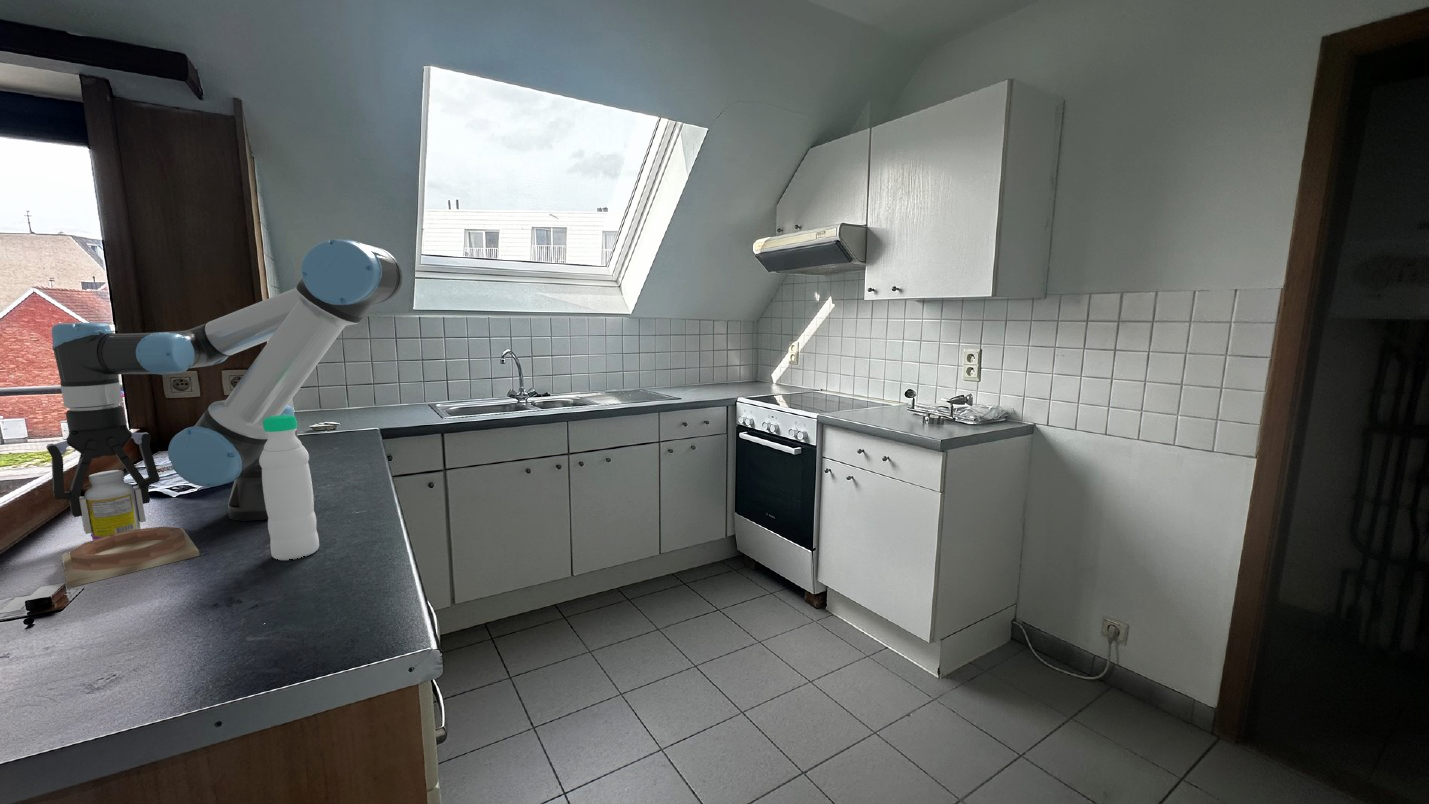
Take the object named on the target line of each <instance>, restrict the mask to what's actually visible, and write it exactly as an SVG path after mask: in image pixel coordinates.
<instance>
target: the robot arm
mask: <svg viewBox="0 0 1429 804" xmlns="http://www.w3.org/2000/svg"><path fill="white" fill-rule="evenodd" d="M300 268H301V269H300V272H301V275H302V277H301V279H300V281H299V282H298V283H297V285H296V286H295V287H294V288H291V289H290V290H287V291H283V292H281V293H280V294H276V295H274V296H271V297H269V298H267V299H263V300H261V301H259V302H256V303H253V304H252V305H249V306H246V307H243V308H241V309H237V310H235V311H233V312H231V313H228V314H226V315H223V316H220V317H218V318H216V319H213V320H210V321H207V322H206V323H204V324H203V323H202V324H200V325H198V326H195V327H193V328H190V329H187V330H177V331H173V330H172V331H162V332H160V331H159V332H139V333H130V332H129V333H115V332H113V331H112V329H111V326H110V324H108V323H106V322H66V323H65V322H61V323H56V324H54V325H53V326H52V328H51V339H52V347H51V349H52V351H53V354H54V359H55V363H56V367H57V371H58V375H59V380H60V381H59V384H60V389H61V395H62V396H61V397H62V401H63V407H64V408H67V409H68V410H66V412H65V417H66V423H67V429H68V436H67V438H66V440H63V441H60V442H57V443H49V444H46V446H45V448H46V450H47V452H48V454H49V455H50V456H51V471H52V472H51V477H52V478H51V479H52V495H53V497H54V499H56V500H65V501H66V500H67V501H69V506H70V511H71V512H70V513H71V514H72V516H73V517H74V518H78V517H81V521H82V522H81V523H82V526H83V527H82V528H83V532H84V534H86V535H87V534H91V533H92V531H91V526H90V520H89V515H88V509H87V504H86V499H85V497H84V496H81V494H82V490H83V488H84V484H85V480H86V478H87V475H88V471H89V470H90V469H89V468H90V466H91V463H92V461H93V459H97V458H101V457H104V456H107V457H108V456H109V457H111V456H112V457H113V456H116V457H117V458H118V460H119V461H120V463H121V464H122V466H123V467H124V468H125V469H126V471H127V472H128V473H129V475H130V476H131V478H132V479H133V480H134V482H135V483H136V484H137V486H133V487H134V492H135V498H136V504H137V510H138V515H139V521H140V523H145V522H146V521H147V520H146V515H145V509H144V505H146V504H149V503H150V502H151V498H150V492H149V487H150V486H151V485H153V484H156V483H158V482H160V480H161V478H160V476H159V473H158V468H157V465H156V462H155V459H154V456H153V452H152V450H151V446H150V445H151V439H152V435H151V434H150V433H148V432H146V431H144V432H132V431H131V430H130V429H129V428H128V426H127V419H126V414H125V408H124V407H123V406H122V405H120V404H121V403H123V401H124V400H123V396H122V395H123V394H122V389H121V384H120V379H119V378H120V376H119V375H161V376H162V375H170V374H182V373H184V372H187V370H189V369H193V368H207V367H211V366H214V365H218V364H221V363H223V362H225V361H226V360H227V359H228V358H229V357H231V356H233V355H235V354H238V353H240V352H242V351H245V350H248V349H250V348H252V347H255V346H258V345H260V344H262V343H265V346H263V348H262V350H261V351H260V352H259V354H258V355H257V356H256V357H255V359H254V361H253V362H252V364H251V365H250V366H249V368H248V369H247V370H246V371H245V373H244V375H243V376H242V377H241V378H240V379H239V382H238V383H237V384H236V386H235V387H233V389H232V391H231V392H230V394H229V395H228V397H227V398H226V399H224V400H219V401H218V400H217V401H214V402H212V403H211V404H210V405H209V406H208V407H207V409H206V410H205V411H204V412H203V413H202V415H201V416H200V418H199V420H198V421H197V422H196V424H194V425H193V426H189V427H186V428H184V429H183V430H180V431H179V432H178V433H176V434H175V435H174V436H173V437H172V438H171V440H170V442H169V445H168V448H167V449H168V450H167V456H168V457H167V458H168V461H170V463H171V467H172V469H173V470H174V472H175V473H176V474H177V475H178V476H179V477H180V478H182V479H183V480H185V481H186V482H188V483H190V484H193V485H195V486H199V487H203V488H212V487H213V488H214V487H219V486H221V485H226V484H230V483H233V485H232V488H231V492H230V495H229V499H228V503H227V515H228V518H229V519H231V520H234V521H241V522H242V521H243V522H245V521H251V522H252V521H263V520H268V519H269V518H268V515H267V511H266V506H265V500H264V493H263V484H262V467H261V466H260V463H259V459H260V455H261V453H262V451H263V450H264V445H265V443H266V442H267V440H268V435H267V434H266V433H265V432H266V431H265V430H264V428H263V420H264V419H265V418H267V417H271V416H279V415H292V416H295V411H294V408H293V407H292V406H290V405H289V403H290V402H291V401H292V399H294V397H295V395H296V394H297V393H298V392H299V390H300V389H301V387H302V386H303V385H304V383H305V382H306V380H307V379H308V378H309V377H310V375H311V374H312V372H313V371H314V369H316V367H317V365H318V364H319V363H320V361H321V360H322V359H323V357H324V356H325V355H326V353H327V352H328V351H329V349H330V348H331V346H332V345H333V343H335V341H336V339H337V338H338V336H339V335H340V334H341V333H342V331H343V330H344V329H345V327H347V326H353V325H358V324H359V323H360V322H361V321H362V320H363V318H364V317H365V315H366V314H367V312H368V311H369V310H370V308H371V307H372V306H375V305H379V304H383V303H386V302H388V301H391V300H392V299H393V298H394V297H396V296H397V294H398V293H399V291H400V290H401V288H402V285H403V281H404V278H403V277H404V276H403V271H402V268H401V265H400V264H399V261H398V260H397V259H396V258H395V257H394V256H393V254H392V253H390V252H388V251H387V250H385V249H383V248H382V247H381V248H380V247H378V246H374V245H370V244H369V245H368V244H366V243H365V244H364V243H361V242H359V241H356V240H352V239H348V238H347V239H344V238H342V239H341V238H339V239H328V240H324V241H322V242H320V243H317V244H315V245H314V246H313V247H311V248H310V249H309V251H307V253H306V254H305V256H304V258H303V260H302V262H301V267H300ZM266 342H267V343H266ZM295 417H296V416H295ZM296 429H297V430H296V431H295V436H296V437H297V438H298V428H296ZM131 439H133V441H134V443H135V444H136V445H138V447H139V450H140V454H141V457H142V461H143V464H144V467H145V469H146V473H147V477H146V478H144V477H143V475H142V474H141V472H140V471H139V470H138V468H137V467H136V465H135V464H134V463H133V461H132V460H131V458H130V457H129V456H128V454H127V453H126V451H125V449H124V448H125V447H126V445H127V444H128V443H129V441H130V440H131ZM298 439H299V438H298ZM68 447H71V448H72V449H74V451H76V452H78V453H79V454H80V455H79V458H78V462H77V465H76V469H75V472H74V475H73V479H72V482H71V485H70V487H69V490H68V491H65V477H64V475H65V474H64V471H65V470H64V457H63V455H65V454H66V453H67V449H68ZM313 500H314V504H315V494H314V492H313Z"/></svg>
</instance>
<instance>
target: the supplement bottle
mask: <svg viewBox="0 0 1429 804" xmlns="http://www.w3.org/2000/svg"><path fill="white" fill-rule="evenodd" d="M88 481H89V483H90V485H91V487H90V488H88V489H87V490H86V491H85V492H84V497H85V499H86V504H87V509H88V515H89V520H90V526H91V531H92V533H90V535H91V541H93V540H96V539H99V538H102V537H105V536H108V535H112V534H117V533H122V532H127V531H131V530H136V529H142V528H141V522H140V521H139V515H138V510H137V504H136V498H135V492H134V487H135V486H133V485H132V484H131V483H129V482H125V471H124V470H122V469H121V470H120V469H119V470H118V469H116V470H115V469H114V470H106V471H100V472H97V473H93V474H89V475H88Z"/></svg>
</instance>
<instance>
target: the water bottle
mask: <svg viewBox="0 0 1429 804" xmlns="http://www.w3.org/2000/svg"><path fill="white" fill-rule="evenodd" d="M297 427H298V421H297V417H296V416H292V415H279V416H271V417H267V418H265V419H264V420H263V428H264V430H265V431H266V432H265V433H266V434H267V435H268V440H267V442H266V443H265V445H264V450H263V451H262V453H261V455H260V459H259V463H260V466H261V467H262V484H263V493H264V500H265V506H266V511H267V515H268V518H269V519H267V529H268V530H267V531H268V534H269V537H270V542H269V544H270V553H271V556H272V558H273V559H276V560H277V559H278V560H279V561H290V560H289V559H293V560H298V559H301V557H302V558H304V557H303V556H305V557H308V556H310V555H312V554H314V553H315V552H316V551H317V550H318V549H319V547H320V539H319V534H318V531H317V516H316V513H315V511H314V510H315V509H314V508H315V506H314V504H315V503H314V501H315V499H314V500H313V493H314V489H313V488H314V487H313V483H312V481H313V480H312V474H311V470H310V464H309V460H310V455H309V452H308V450H307V449H306V448H305V446H304V445H303V444H302V441H301V440H300V439H299V438H297V437H298V436H297V437H296V436H295V431H296V430H297V431H298V428H297ZM296 428H297V429H296ZM297 558H298V559H297Z"/></svg>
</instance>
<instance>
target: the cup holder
mask: <svg viewBox="0 0 1429 804" xmlns="http://www.w3.org/2000/svg"><path fill="white" fill-rule="evenodd" d="M61 556H62V557H61V558H62V562H63V570H64V574H65V580H66V581H65V582H66V585H67V586H68V587H70V588H74V587H77V586H81V585H86V584H89V583H93V582H98V581H102V580H106V579H110V578H114V577H117V576H122V575H126V574H131V573H134V572H138V571H143V570H147V569H151V568H156V567H158V566H163V565H167V564H168V565H169V564H171V563H175V562H180V561H183V560H184V561H185V560H188V559H192V558H195V557H196V558H197V557H200V550H199V549H198V547H197V546H196V545H195V543H194V542H193V540H192V539H191V538H190V536H189V535H188V534H187V532H186V531H185V529H184V528H181V527H175V526H174V527H173V526H155V527H145V528H141V529H136V530H131V531H127V532H122V533H117V534H112V535H108V536H105V537H102V538H99V539H96V540H90V541H87V542H84V543H82V544H80V545H79V546H77V547H75V548H73V549H71V550H70V551H69V552H68V553H64V554H61ZM67 586H66V587H67ZM68 587H67V588H68Z"/></svg>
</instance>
